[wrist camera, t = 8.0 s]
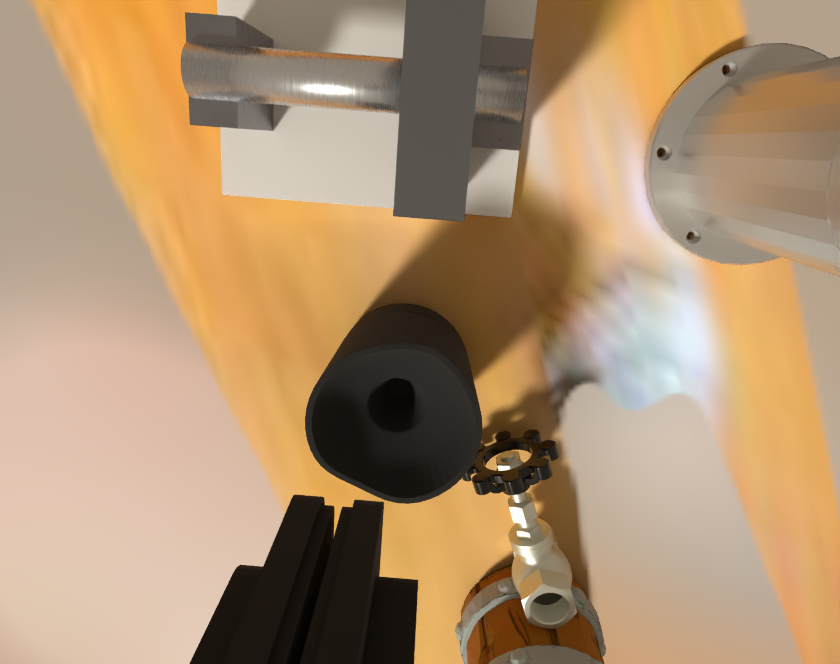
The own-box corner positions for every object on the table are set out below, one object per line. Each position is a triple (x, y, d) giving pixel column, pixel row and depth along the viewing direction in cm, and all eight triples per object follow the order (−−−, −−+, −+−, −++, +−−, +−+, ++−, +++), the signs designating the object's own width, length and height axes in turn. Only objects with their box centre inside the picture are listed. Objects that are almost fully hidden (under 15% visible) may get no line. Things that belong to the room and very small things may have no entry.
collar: (476, -9, 32) (493, -83, 22) (457, 198, 35) (463, 221, 25) (421, -13, 32) (411, -89, 22) (407, 194, 35) (393, 216, 25)
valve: (583, 555, 45) (546, 419, 42) (606, 622, 39) (565, 468, 36) (499, 574, 46) (457, 442, 43) (508, 642, 40) (460, 494, 36)
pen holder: (367, 440, 43) (346, 525, 33) (315, 323, 40) (276, 379, 31) (490, 399, 42) (505, 476, 32) (445, 276, 39) (446, 319, 29)
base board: (537, -16, 34) (540, -21, 32) (509, 215, 38) (511, 217, 36) (222, -40, 34) (215, -46, 33) (227, 193, 38) (221, 194, 37)
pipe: (516, 57, 34) (538, 33, 26) (506, 149, 35) (523, 151, 28) (231, 36, 34) (172, 6, 26) (233, 127, 36) (178, 123, 28)
